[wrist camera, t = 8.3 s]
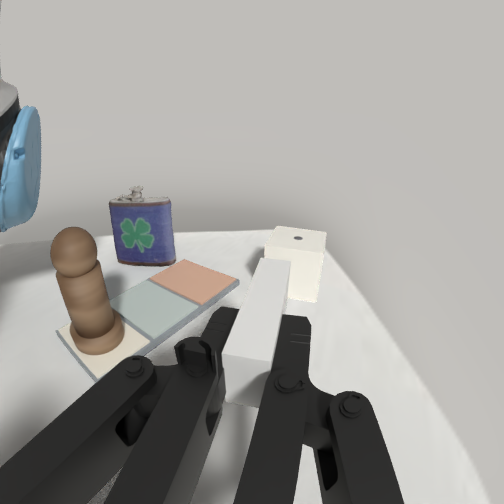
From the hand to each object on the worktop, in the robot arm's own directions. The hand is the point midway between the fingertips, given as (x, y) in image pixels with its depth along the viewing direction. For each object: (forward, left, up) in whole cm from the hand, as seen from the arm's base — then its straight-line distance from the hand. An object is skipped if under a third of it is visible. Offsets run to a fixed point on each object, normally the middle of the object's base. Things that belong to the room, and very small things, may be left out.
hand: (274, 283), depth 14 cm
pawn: (-15, -4, -9) cm, 18 cm away
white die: (-5, +15, -10) cm, 19 cm away
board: (-15, +2, -10) cm, 18 cm away
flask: (-25, +9, -10) cm, 28 cm away
